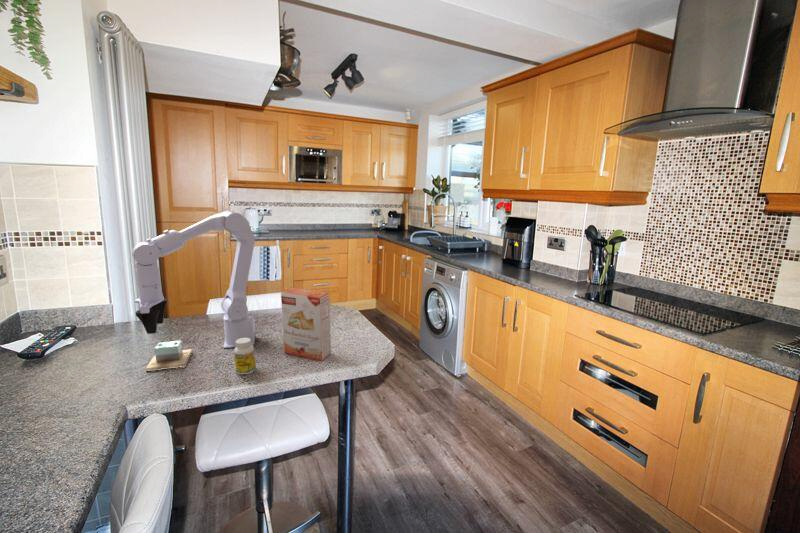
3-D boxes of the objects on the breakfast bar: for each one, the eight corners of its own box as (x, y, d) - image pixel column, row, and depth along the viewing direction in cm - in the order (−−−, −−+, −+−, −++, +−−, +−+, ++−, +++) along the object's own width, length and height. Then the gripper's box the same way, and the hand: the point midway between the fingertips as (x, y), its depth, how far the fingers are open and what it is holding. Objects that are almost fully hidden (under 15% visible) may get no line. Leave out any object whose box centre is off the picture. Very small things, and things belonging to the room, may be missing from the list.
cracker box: (283, 354, 121) (279, 291, 116) (294, 346, 126) (291, 286, 121) (321, 362, 116) (319, 297, 111) (331, 353, 122) (329, 291, 117)
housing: (182, 353, 117) (180, 340, 116) (179, 359, 113) (177, 345, 112) (160, 355, 115) (158, 342, 114) (156, 362, 111) (154, 348, 110)
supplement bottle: (256, 365, 113) (254, 335, 111) (254, 374, 108) (251, 343, 106) (237, 367, 112) (234, 337, 110) (234, 376, 107) (231, 345, 105)
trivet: (192, 352, 121) (191, 348, 120) (185, 367, 111) (185, 363, 111) (156, 356, 118) (155, 352, 117) (146, 372, 108) (145, 368, 108)
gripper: (141, 278, 115) (147, 320, 118) (124, 292, 102) (131, 339, 105) (167, 277, 117) (172, 318, 120) (154, 290, 104) (160, 336, 107)
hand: (155, 328), depth 113 cm, fingers open, 7 cm apart
